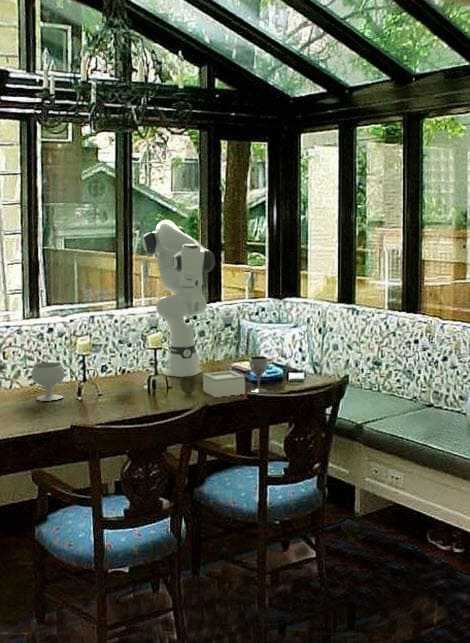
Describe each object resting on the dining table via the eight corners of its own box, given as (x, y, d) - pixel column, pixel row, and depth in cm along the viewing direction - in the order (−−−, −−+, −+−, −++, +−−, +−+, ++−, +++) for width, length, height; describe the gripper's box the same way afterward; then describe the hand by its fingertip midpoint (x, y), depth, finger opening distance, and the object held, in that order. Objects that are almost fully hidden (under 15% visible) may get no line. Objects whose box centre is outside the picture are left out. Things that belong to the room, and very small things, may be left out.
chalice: (30, 397, 389) (28, 363, 387) (62, 394, 395) (60, 360, 392) (35, 404, 377) (34, 369, 374) (68, 400, 382) (67, 366, 380)
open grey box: (203, 391, 395) (203, 373, 394) (232, 387, 401) (232, 370, 400) (215, 397, 383) (215, 379, 382) (245, 394, 388) (244, 376, 387)
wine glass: (262, 388, 399) (262, 355, 397) (271, 391, 392) (270, 358, 390) (246, 390, 396) (246, 357, 394) (255, 393, 389) (254, 360, 387)
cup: (198, 393, 391) (197, 375, 389) (195, 397, 383) (195, 379, 382) (181, 393, 391) (180, 375, 390) (178, 397, 384) (178, 379, 383)
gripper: (191, 279, 398) (192, 310, 400) (179, 283, 379) (180, 315, 380) (205, 279, 397) (206, 310, 399) (193, 283, 377) (194, 315, 379)
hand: (193, 312), depth 389 cm, fingers open, 8 cm apart
